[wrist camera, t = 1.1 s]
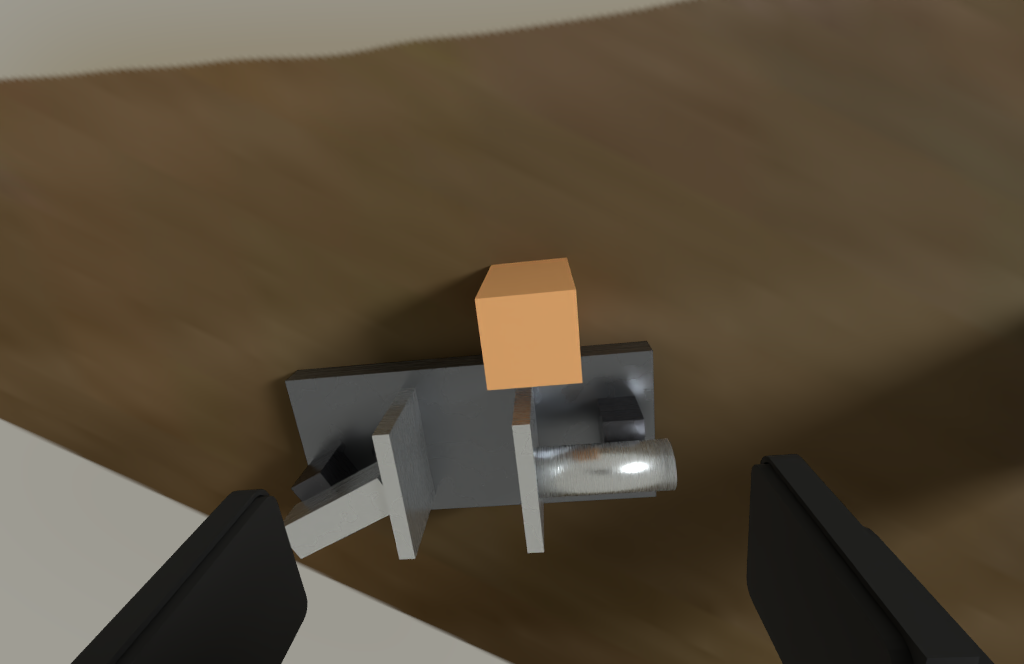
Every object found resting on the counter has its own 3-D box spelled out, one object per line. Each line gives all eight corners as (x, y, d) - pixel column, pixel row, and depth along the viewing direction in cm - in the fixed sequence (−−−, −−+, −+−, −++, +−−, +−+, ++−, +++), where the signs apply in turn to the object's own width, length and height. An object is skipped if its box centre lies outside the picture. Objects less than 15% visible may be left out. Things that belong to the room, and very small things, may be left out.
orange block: (566, 257, 26) (576, 289, 19) (572, 329, 27) (582, 383, 21) (491, 265, 26) (474, 299, 20) (499, 336, 28) (487, 390, 21)
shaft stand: (646, 340, 27) (677, 392, 21) (650, 480, 30) (679, 562, 24) (297, 370, 29) (231, 426, 23) (331, 500, 32) (281, 581, 26)
